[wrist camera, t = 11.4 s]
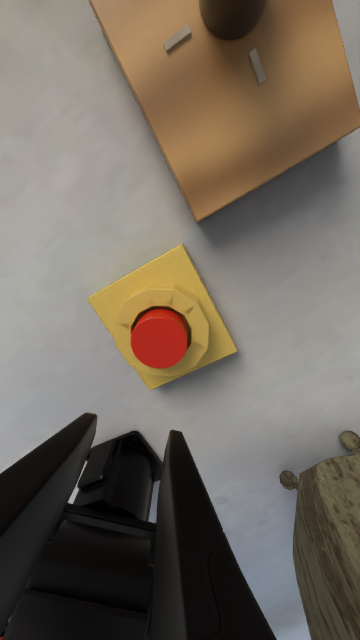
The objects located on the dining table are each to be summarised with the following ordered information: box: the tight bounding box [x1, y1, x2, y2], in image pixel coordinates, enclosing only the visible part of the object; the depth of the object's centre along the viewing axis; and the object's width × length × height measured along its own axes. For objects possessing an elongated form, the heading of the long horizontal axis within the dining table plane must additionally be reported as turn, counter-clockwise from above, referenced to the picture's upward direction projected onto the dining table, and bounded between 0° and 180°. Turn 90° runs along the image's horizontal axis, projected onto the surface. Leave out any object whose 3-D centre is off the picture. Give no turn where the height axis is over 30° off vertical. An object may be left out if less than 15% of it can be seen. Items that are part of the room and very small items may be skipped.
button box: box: [87, 244, 237, 390], centre depth 18 cm, size 9×8×4 cm
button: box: [131, 309, 188, 369], centre depth 16 cm, size 4×4×2 cm
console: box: [89, 0, 360, 223], centre depth 13 cm, size 12×10×3 cm
